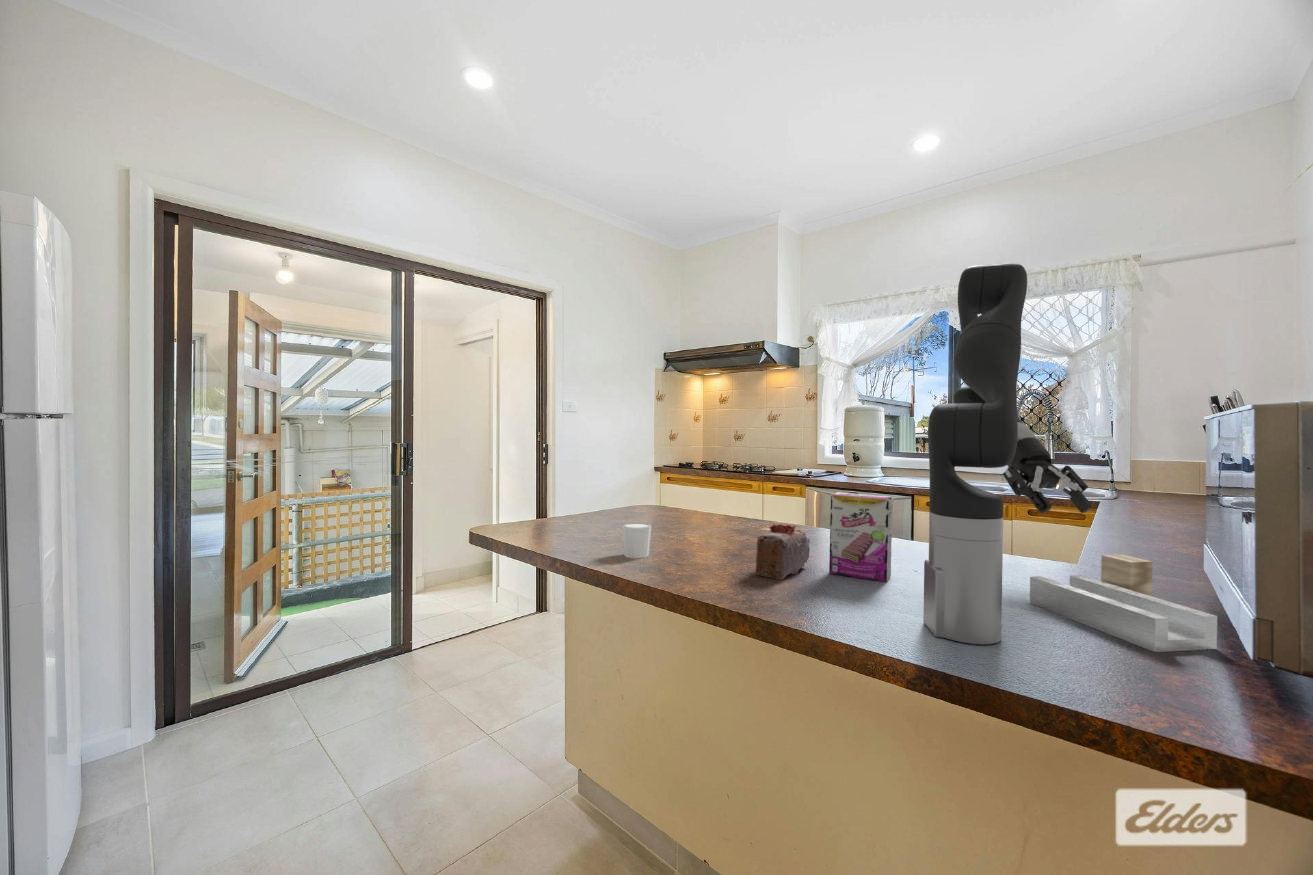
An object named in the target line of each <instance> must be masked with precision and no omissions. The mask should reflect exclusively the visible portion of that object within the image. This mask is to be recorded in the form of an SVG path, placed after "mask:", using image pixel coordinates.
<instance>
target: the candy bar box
mask: <svg viewBox="0 0 1313 875" xmlns="http://www.w3.org/2000/svg"><path fill="white" fill-rule="evenodd" d="M893 502H894V501H893V496H890V495H889V496H888V495H876V494H865V493H851V492H840V491H836V492H834V493H831V495H830V515H829V516H830V517H829V518H830V522H829V523H830V524H829V526H830V528H829V530H830V531H829V560H828V561H829V562H828V563H829V564H828V567H829V568H828V569H829V571H828V572H829V574H831V575H839V576H843V577H844V576H845V577H849V578H857V579H863V580H869V581H876V582H881V583H882V582H883V583H887V582H888V581H889V579H891V576H892V542H893V540H892V537H893V536H892V535H893V533H892V532H893V504H894V503H893Z"/></svg>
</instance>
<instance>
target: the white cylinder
mask: <svg viewBox="0 0 1313 875" xmlns="http://www.w3.org/2000/svg"><path fill="white" fill-rule="evenodd" d="M621 530H622V541H623V542H622V543H623V544H622V545H623V554H624V556H623V557H625V556H626V557H625V558H628V559H645V558H648V557H649V554H650V546H651V545H650V544H651V535H652V534H651V533H652V525H651V524H649V523H643V522H642V523H641V522H632V523H626V524H623V525H622V526H621ZM647 556H648V557H647Z"/></svg>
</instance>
